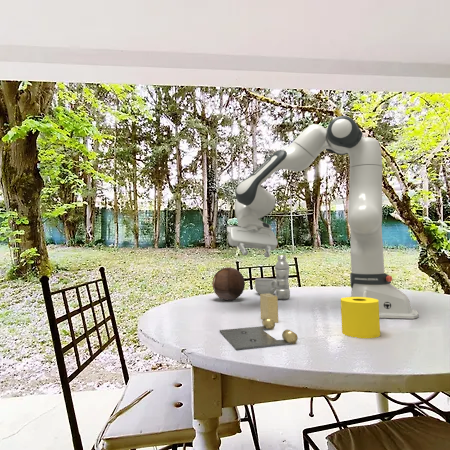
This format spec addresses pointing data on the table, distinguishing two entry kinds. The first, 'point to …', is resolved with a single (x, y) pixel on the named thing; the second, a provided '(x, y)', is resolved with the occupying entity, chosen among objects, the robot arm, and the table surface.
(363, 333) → the yellow toilet paper roll
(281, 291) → the plastic bottle
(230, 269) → the wooden sphere
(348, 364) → the table surface
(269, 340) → the fixed leaf
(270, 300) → the plate
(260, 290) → the teacup
